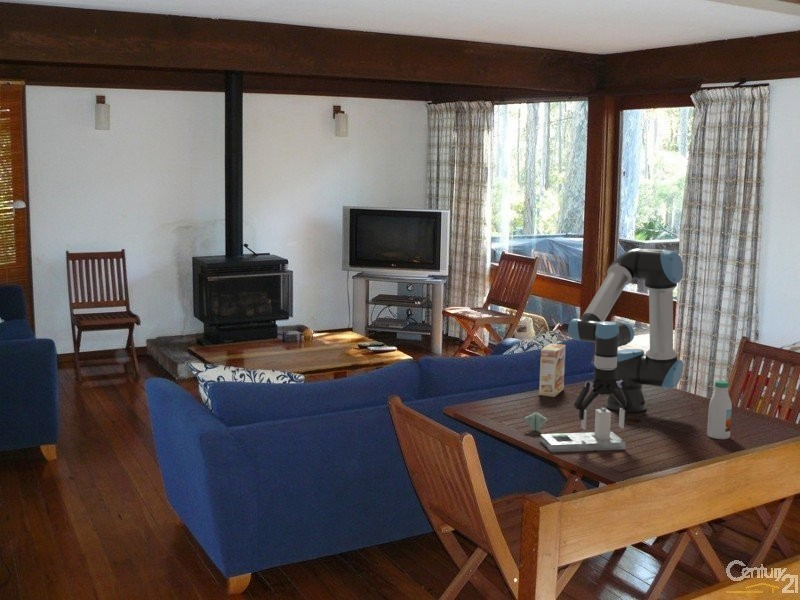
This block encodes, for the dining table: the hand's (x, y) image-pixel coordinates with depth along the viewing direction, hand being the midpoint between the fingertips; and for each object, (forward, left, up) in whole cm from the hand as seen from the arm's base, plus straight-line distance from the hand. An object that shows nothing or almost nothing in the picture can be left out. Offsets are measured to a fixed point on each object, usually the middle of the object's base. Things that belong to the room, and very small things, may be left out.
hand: (602, 428), depth 305 cm
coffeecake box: (-5, -70, -6) cm, 70 cm away
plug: (0, 0, -6) cm, 6 cm away
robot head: (+18, -18, -6) cm, 26 cm away
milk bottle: (-45, -4, -6) cm, 46 cm away
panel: (+7, 0, -6) cm, 9 cm away
